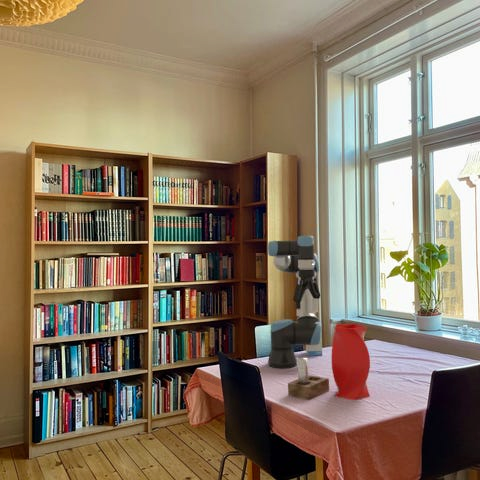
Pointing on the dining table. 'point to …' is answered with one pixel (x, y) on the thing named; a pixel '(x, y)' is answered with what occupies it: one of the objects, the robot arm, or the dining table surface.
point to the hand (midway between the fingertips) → (307, 314)
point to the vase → (350, 361)
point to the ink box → (314, 348)
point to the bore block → (309, 387)
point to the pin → (302, 371)
